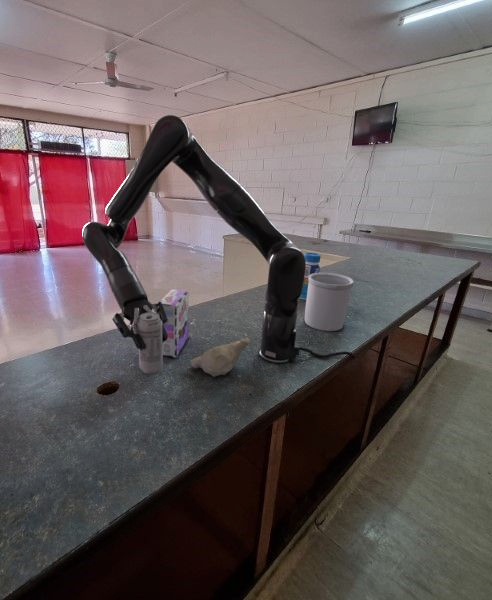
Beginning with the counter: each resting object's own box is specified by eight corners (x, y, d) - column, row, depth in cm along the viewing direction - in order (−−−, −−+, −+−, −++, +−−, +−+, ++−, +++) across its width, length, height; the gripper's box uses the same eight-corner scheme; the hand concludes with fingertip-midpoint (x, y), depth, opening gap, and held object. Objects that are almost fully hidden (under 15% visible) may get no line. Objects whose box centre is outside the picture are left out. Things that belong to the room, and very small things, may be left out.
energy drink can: (165, 363, 85) (164, 312, 80) (159, 376, 80) (158, 322, 74) (143, 361, 86) (141, 310, 81) (136, 373, 80) (133, 320, 75)
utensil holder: (337, 336, 107) (347, 287, 101) (296, 324, 116) (302, 278, 109) (349, 322, 118) (358, 277, 112) (310, 312, 127) (317, 270, 120)
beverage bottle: (293, 294, 147) (299, 252, 140) (311, 294, 148) (317, 252, 141) (300, 301, 139) (307, 256, 132) (319, 300, 140) (326, 256, 133)
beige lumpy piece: (191, 389, 81) (237, 367, 74) (180, 363, 83) (224, 338, 76) (220, 378, 94) (261, 358, 87) (210, 355, 96) (250, 334, 89)
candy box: (176, 358, 91) (176, 305, 85) (157, 356, 92) (155, 303, 86) (189, 337, 104) (189, 289, 98) (171, 335, 105) (171, 288, 99)
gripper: (105, 286, 75) (134, 348, 71) (155, 275, 85) (183, 330, 81) (97, 300, 81) (124, 359, 77) (145, 289, 90) (171, 341, 86)
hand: (154, 344), depth 79 cm, fingers closed on energy drink can, 6 cm apart
